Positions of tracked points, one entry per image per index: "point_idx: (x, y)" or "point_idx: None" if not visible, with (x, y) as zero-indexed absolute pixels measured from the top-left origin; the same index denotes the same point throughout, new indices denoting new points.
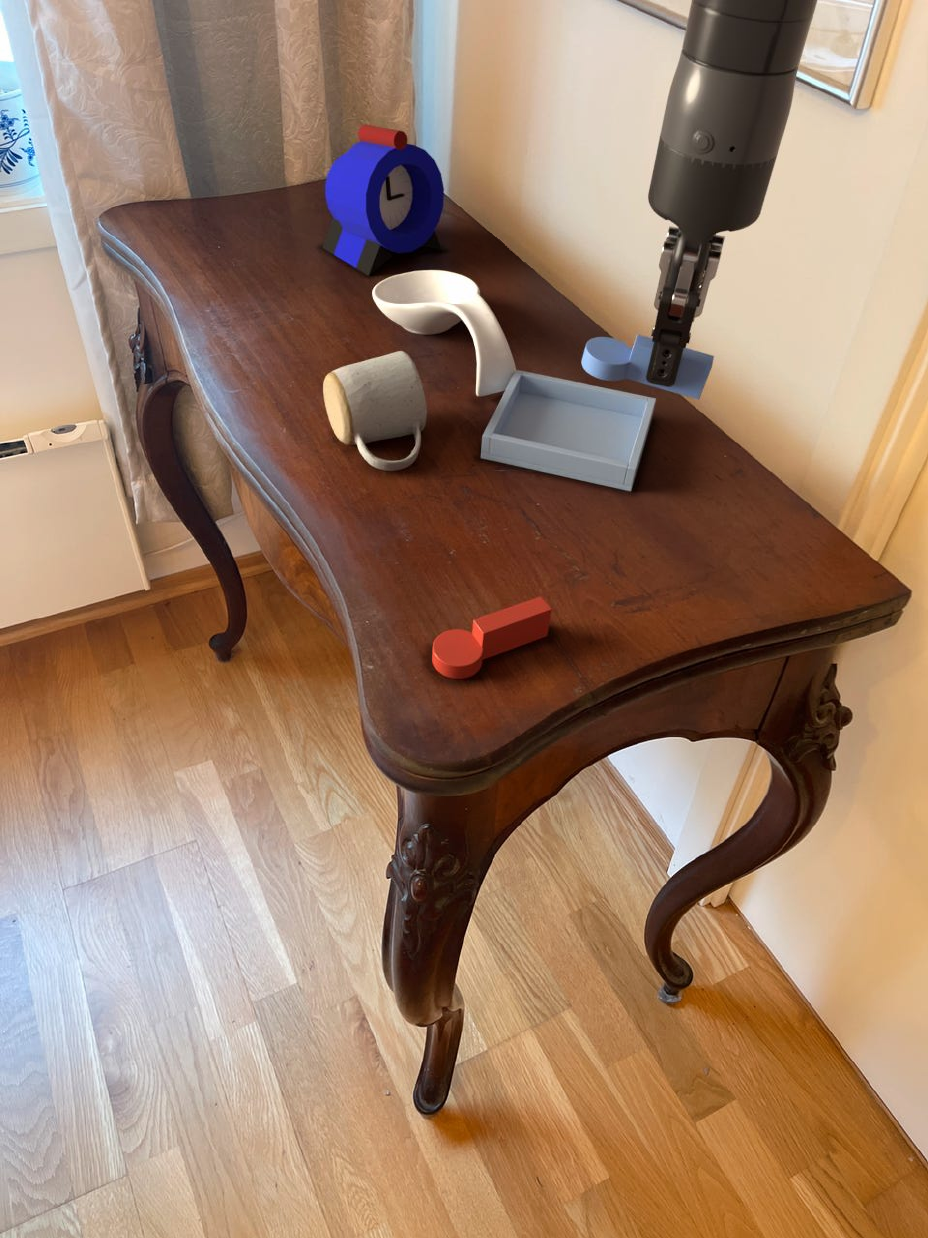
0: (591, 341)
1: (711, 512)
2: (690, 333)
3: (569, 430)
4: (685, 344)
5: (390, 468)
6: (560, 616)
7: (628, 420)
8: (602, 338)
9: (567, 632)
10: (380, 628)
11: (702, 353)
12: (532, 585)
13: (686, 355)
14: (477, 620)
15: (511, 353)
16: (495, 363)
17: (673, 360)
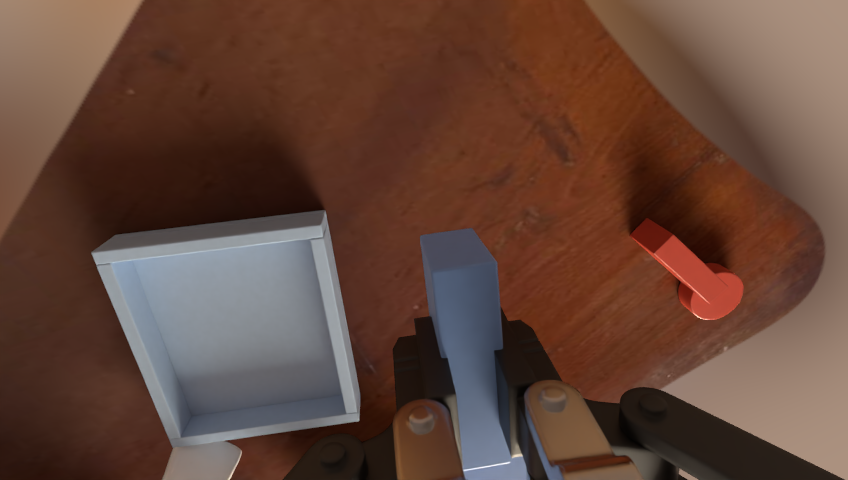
0: None
1: (307, 79)
2: (558, 402)
3: (240, 330)
4: (682, 403)
5: None
6: (609, 214)
7: (153, 267)
8: None
9: (633, 198)
10: (674, 362)
11: (440, 303)
12: (567, 260)
13: (485, 339)
14: (709, 299)
15: (165, 476)
16: (198, 478)
17: (549, 363)
